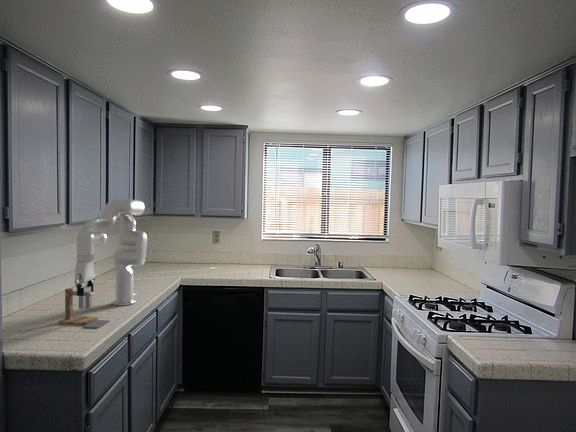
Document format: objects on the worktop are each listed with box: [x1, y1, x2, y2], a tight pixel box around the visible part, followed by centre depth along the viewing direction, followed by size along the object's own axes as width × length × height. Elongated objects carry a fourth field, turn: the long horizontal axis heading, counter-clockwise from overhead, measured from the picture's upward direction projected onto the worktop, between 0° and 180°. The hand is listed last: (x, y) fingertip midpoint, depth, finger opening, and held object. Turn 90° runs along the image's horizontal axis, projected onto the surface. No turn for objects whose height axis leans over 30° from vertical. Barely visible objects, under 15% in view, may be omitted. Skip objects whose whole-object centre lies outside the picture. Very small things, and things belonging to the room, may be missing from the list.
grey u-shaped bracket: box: [78, 285, 93, 310], centre depth 208 cm, size 8×2×11 cm, turn 175°
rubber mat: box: [82, 319, 110, 329], centre depth 204 cm, size 11×8×1 cm
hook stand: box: [58, 288, 99, 326], centre depth 208 cm, size 14×10×16 cm
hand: (85, 293), depth 208 cm, fingers closed on grey u-shaped bracket, 7 cm apart
